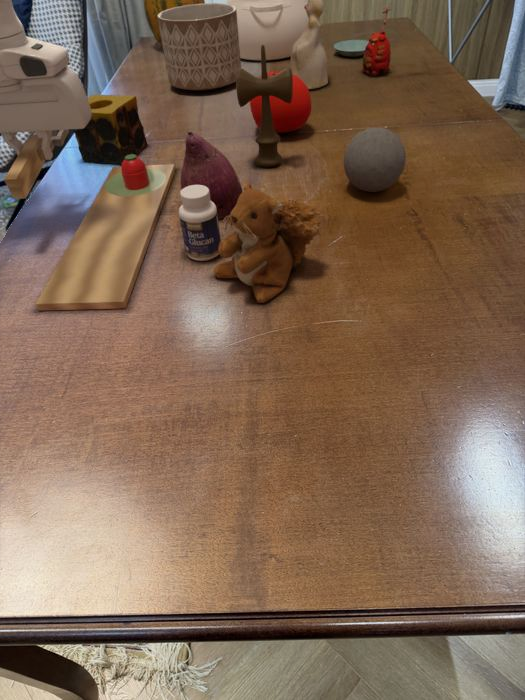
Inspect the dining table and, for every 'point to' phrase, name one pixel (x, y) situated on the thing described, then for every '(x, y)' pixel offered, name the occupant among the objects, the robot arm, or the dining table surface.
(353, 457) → the dining table surface
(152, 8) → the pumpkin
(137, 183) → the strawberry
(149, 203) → the board
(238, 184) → the vegetable
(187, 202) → the pill bottle
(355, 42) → the saucer
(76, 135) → the spotted cube with hole
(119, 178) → the plate
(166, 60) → the planter
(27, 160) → the tan wooden bar
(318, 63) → the figurine
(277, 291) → the stuffed squirrel
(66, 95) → the robot arm
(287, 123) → the tomato
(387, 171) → the decorative ball
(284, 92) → the kendama
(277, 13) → the pot
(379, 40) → the red clay folk toy
